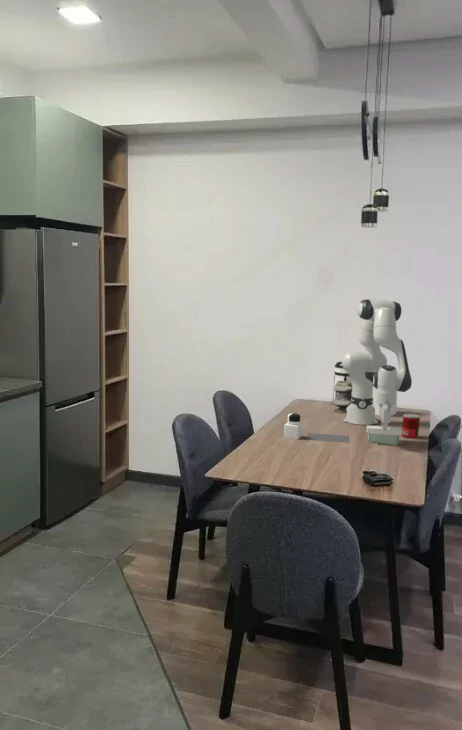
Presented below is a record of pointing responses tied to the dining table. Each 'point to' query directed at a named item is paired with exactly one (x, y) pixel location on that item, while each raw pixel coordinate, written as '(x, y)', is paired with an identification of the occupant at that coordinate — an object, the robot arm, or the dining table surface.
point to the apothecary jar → (342, 396)
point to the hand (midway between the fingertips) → (383, 428)
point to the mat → (328, 437)
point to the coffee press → (340, 376)
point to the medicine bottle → (293, 427)
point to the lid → (380, 430)
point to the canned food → (410, 425)
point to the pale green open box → (384, 439)
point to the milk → (376, 405)
